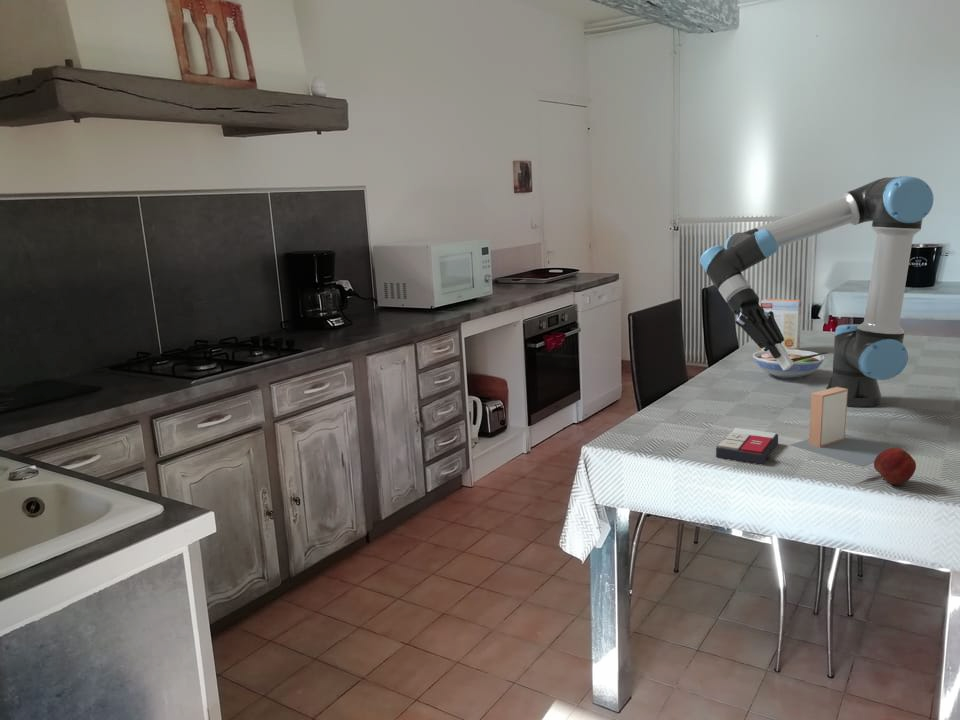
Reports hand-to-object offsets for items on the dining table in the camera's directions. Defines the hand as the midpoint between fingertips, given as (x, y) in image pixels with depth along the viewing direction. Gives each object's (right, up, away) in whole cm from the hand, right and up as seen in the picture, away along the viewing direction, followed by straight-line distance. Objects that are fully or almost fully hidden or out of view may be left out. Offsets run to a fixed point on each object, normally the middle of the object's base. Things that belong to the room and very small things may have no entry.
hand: (788, 367), depth 193 cm
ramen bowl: (+26, -4, +65) cm, 70 cm away
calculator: (-13, -21, -8) cm, 26 cm away
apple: (+10, -25, -31) cm, 41 cm away
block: (+7, -19, -5) cm, 21 cm away
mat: (+10, -20, -10) cm, 25 cm away
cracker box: (+38, +4, +103) cm, 110 cm away
